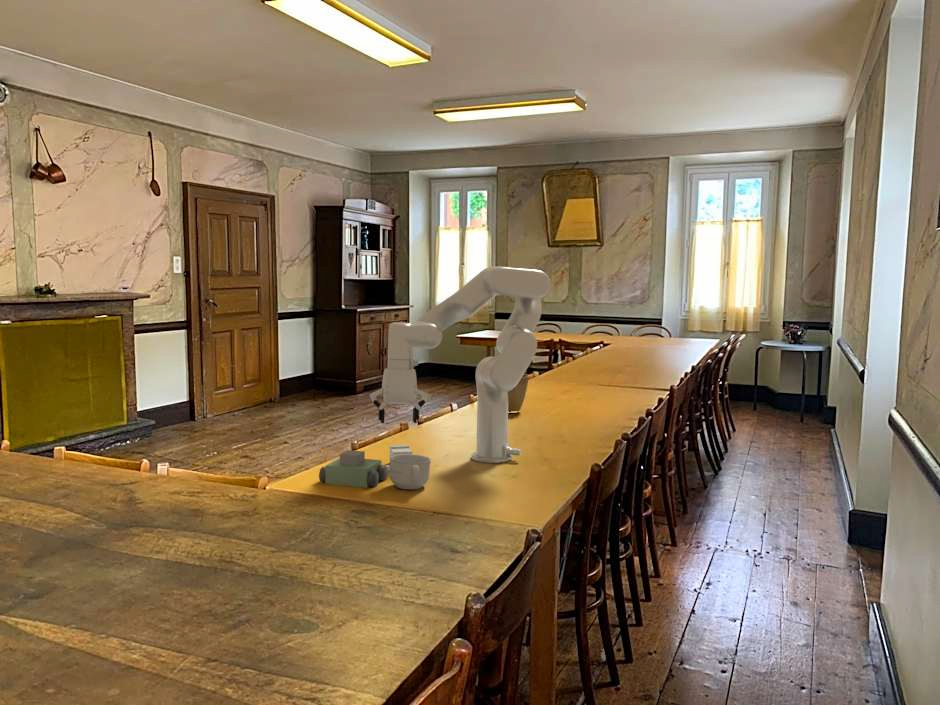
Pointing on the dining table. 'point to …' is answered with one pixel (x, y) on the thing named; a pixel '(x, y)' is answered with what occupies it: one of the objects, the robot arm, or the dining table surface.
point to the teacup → (409, 470)
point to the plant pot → (517, 394)
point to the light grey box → (399, 450)
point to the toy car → (354, 470)
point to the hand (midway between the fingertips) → (398, 422)
